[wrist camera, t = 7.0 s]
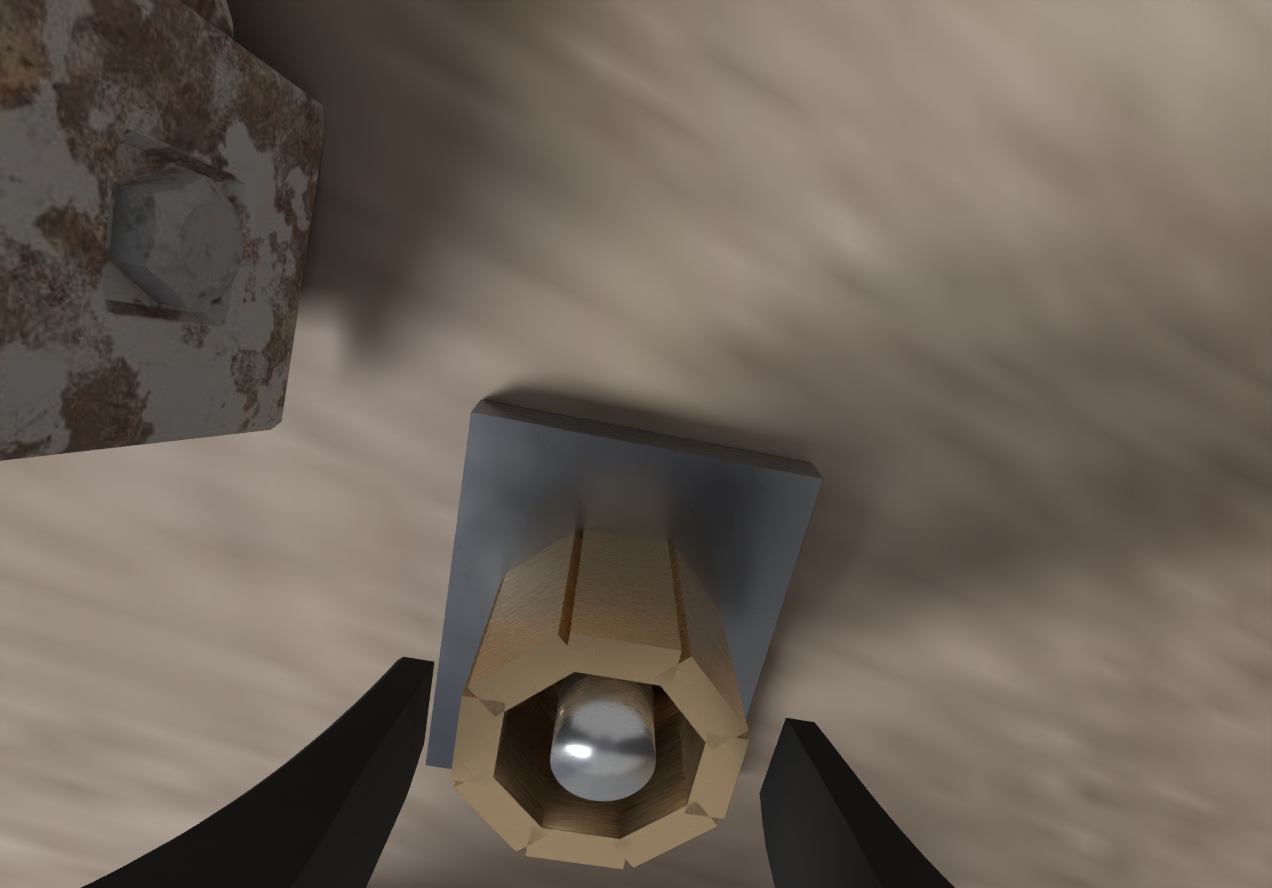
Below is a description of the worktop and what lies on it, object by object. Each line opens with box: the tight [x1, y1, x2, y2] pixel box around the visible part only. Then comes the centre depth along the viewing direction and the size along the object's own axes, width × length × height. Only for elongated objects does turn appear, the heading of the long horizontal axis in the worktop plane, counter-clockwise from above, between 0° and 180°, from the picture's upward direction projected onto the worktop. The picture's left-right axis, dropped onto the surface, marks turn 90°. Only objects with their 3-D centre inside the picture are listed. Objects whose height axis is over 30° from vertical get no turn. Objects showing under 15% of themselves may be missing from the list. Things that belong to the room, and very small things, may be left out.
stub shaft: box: [426, 400, 823, 801], centre depth 15 cm, size 10×8×5 cm
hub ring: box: [450, 529, 750, 869], centre depth 14 cm, size 5×5×4 cm
